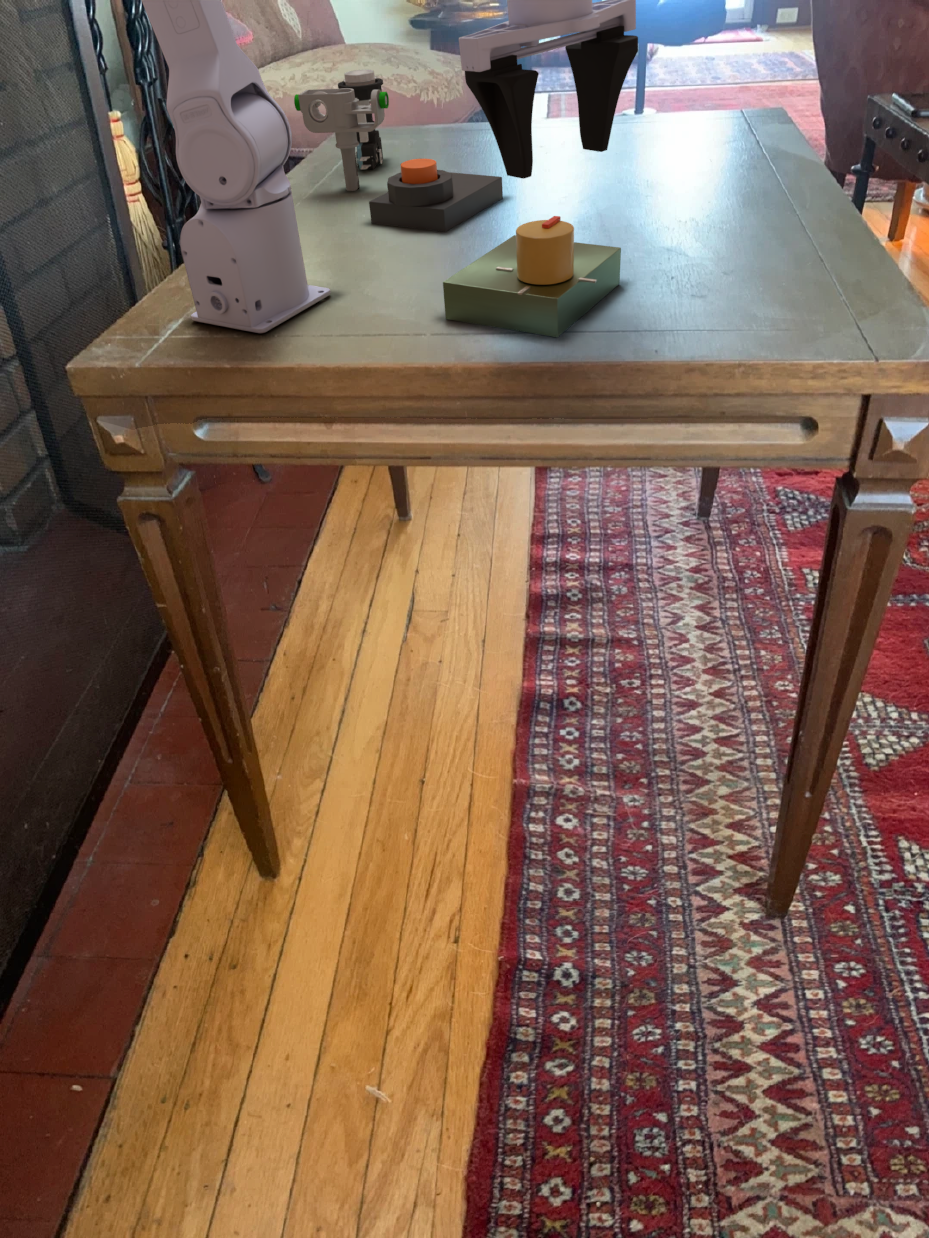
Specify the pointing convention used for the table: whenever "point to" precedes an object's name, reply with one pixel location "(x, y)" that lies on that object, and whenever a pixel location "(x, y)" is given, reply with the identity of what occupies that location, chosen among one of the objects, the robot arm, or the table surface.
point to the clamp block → (530, 290)
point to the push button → (365, 116)
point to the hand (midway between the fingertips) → (558, 162)
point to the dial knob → (545, 251)
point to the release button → (419, 171)
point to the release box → (435, 200)
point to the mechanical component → (341, 121)
